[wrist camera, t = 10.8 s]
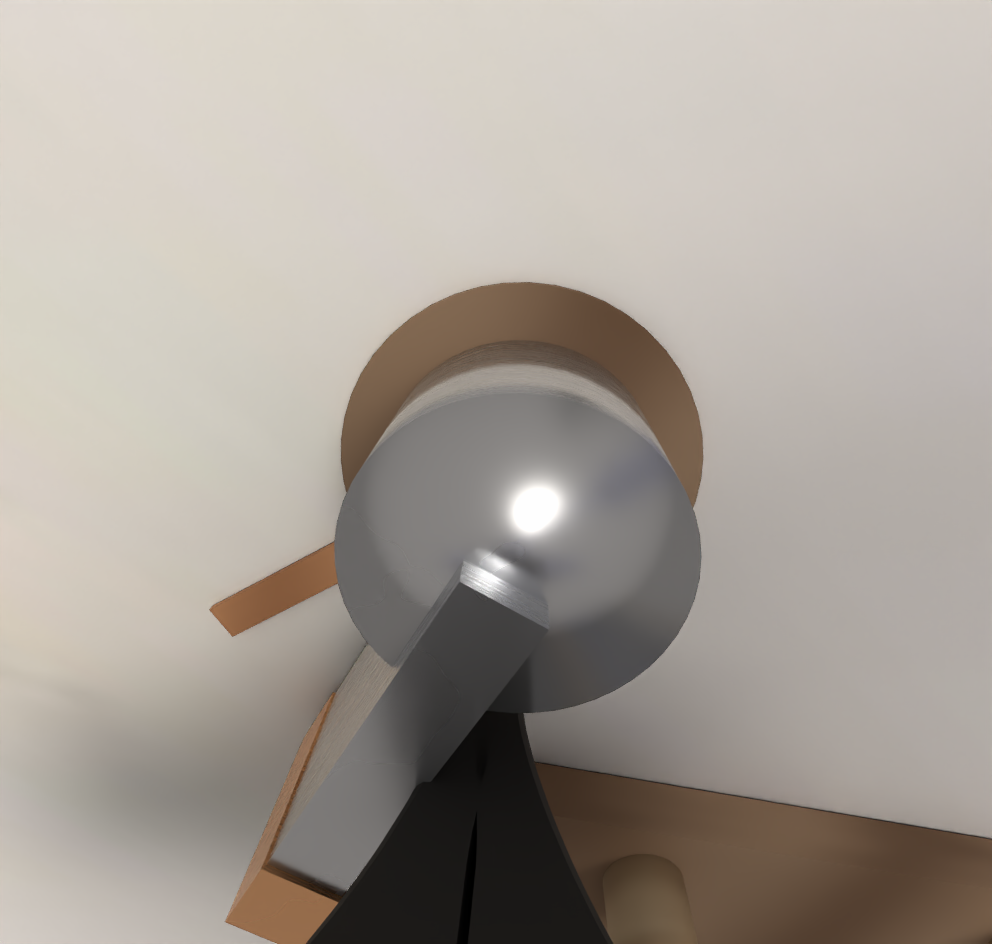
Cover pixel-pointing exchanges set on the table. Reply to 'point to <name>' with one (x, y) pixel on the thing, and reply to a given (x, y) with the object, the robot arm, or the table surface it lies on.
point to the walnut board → (762, 869)
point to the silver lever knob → (476, 598)
